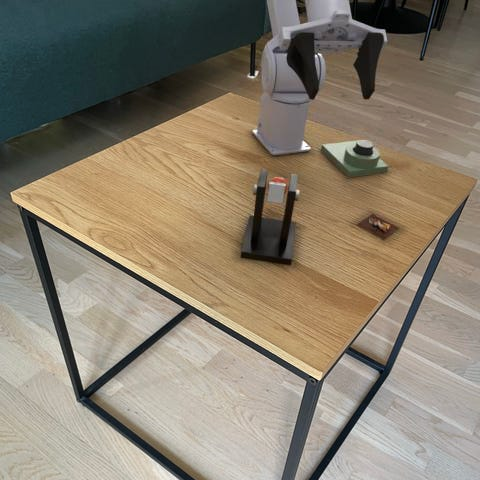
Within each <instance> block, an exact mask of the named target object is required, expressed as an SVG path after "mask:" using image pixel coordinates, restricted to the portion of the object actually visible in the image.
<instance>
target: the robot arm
mask: <svg viewBox="0 0 480 480" xmlns="http://www.w3.org/2000/svg"><path fill="white" fill-rule="evenodd" d="M304 3H305V11H306V17H307V22H305V23H301V21H300V16H299V11H298V6H297V1H296V0H266V5H267V11H268V15H269V16H268V17H269V22H270V28H271V33H272V39H270V40H269V41H267V42H266V44H265V46H264V48H263V51H262V54H261V60H260V66H261V87H262V89H263V93H262V94H261V96H260V100H259V109H258V117H257V125H256V126H257V127H256V129H253V130H252V134H253V136H255V138H256V139H257V140H258V141H259V143H260V144H262V146H263V147H264V148H265V150H267V151H268V153H270V155H271V156H279V155H289V154H297V153H303V152H310V151H311V150H312V148H311V147H310V145H308V144H307V142H305V141H304V136H305V129H306V125H307V119H308V113H309V107H310V102H311V101H314V100H315V99H316V97H317V95H318V94H319V93H320V92H321V91H322V89H323V87H324V84H325V80H326V73H327V72H326V71H327V69H326V60H325V59H324V57H323V55H324V56H325V55H334V54H339V53H343V52H347V51H351V50H356V49H358V52H357V53H356V56H357V57H356V59H355V61H354V62H353V64H352V65H353V67H354V69H355V71H356V74H357V77H358V80H359V84H360V90H361V95H362V98H363V100H370V98H371V97H372V96H373V94H374V92H375V91H376V90H375V89H376V75H377V74H376V73H377V67H378V62H379V59H380V55H381V53H382V51H383V50H384V48H385V47H386V45H387V43H388V37H387V34H386V29H384V28H383V29H381V28H376V27H373V26H370V25H368V24H365V23H362V22H360V21H357V20H355V19H353V16H352V11H351V6H350V5H351V4H350V0H304Z"/></svg>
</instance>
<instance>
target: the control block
mask: <svg viewBox="0 0 480 480" xmlns="http://www.w3.org/2000/svg"><path fill="white" fill-rule="evenodd" d="M357 141H358V140H349V141H341V142H332V143H326V144H322V145H321V148H320V152H321V153H323V154H324V155H325V157H327V159H329V161H331V162H332V163H333V164H334V166H336V167H337V168H338V170H340V171H341V172H342V173H343V174H344V175H345V176H346V177H347V178H355V177H361V176H362V177H364V176H371V175H377V174H383V173H387V172H388V170H389V165H388V164H387V163H386V162H385V161H383V160H382V159H381V158H380V157H381V152H380V150H379V149H378V148H376V147H375V146H373V150H372V153H371V155H370V156H362V155H358V154H356V153H355V152H354V150H355V146H356V142H357Z"/></svg>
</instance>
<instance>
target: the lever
mask: <svg viewBox="0 0 480 480" xmlns="http://www.w3.org/2000/svg"><path fill="white" fill-rule="evenodd" d="M288 188H289V183H288V182H287V180H286V179H285V178H284V177H282V176H274V177H272V178H271V179H269V181H268V182H267V185H266V190H267V194H266V200H265V201H266V203H271V204H277V205H279V204H280V205H283V204H284V200H285V196H286V195H287V193H288Z"/></svg>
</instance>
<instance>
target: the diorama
mask: <svg viewBox="0 0 480 480" xmlns="http://www.w3.org/2000/svg"><path fill="white" fill-rule="evenodd" d="M356 226H357V227H360V228H362V229H363V230H366V231H368V232H369V233H371V234H373V235H375V236H376V237H379V238H380V239H382V240H385V239H387V238H388V237H390V236H391V235H392V234H394V233H395V232H397V231H398V230H400V227H399V226H398V225H395V224H393V223H392V222H390V221H387V220H386V219H383V218H382V217H380V216H378V215H376V214H374V213H371V214H370V215H368V216H366V217H365V218H364V219H362V220H361V221H359V222H358V223H356Z"/></svg>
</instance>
